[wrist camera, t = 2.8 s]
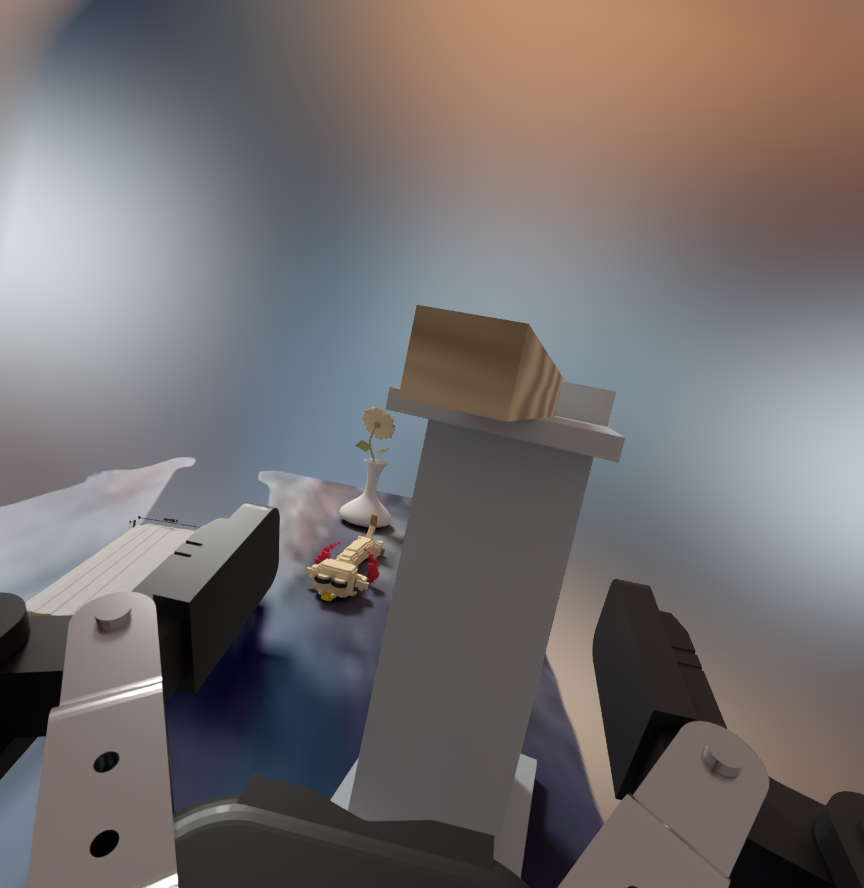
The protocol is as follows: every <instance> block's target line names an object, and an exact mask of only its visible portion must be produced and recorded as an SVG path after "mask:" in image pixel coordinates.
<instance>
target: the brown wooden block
mask: <svg viewBox="0 0 864 888" xmlns="http://www.w3.org/2000/svg"><path fill="white" fill-rule="evenodd" d="M562 383H563V377H562V375H561V374H560V372H559V371H558V369H557V368H556V366H555V364H554V363H553V361H552V360H551V358H550V356H549V355H548V353H547V352H546V350H545V349H544V347H543V346H542V344H541V342H540V341H539V339H538V338H537V336H536V335H535V333H534V332H533V330H532V328H531V327H530V325H529V324H526V323H520V322H514V321H509V320H503V319H497V318H491V317H485V316H479V315H473V314H468V313H461V312H455V311H449V310H444V309H438V308H432V307H426V306H420V305H417V306H416V311H415V316H414V322H413V327H412V332H411V337H410V342H409V347H408V352H407V357H406V362H405V367H404V372H403V377H402V382H401V387H400V392H399V397H398V398H402V399H406V400H411V401H415V402H420V403H424V404H429V405H433V406H438V407H442V408H447V409H451V410H456V411H460V412H465V413H469V414H474V415H478V416H483V417H487V418H492V419H496V420H501V421H505V422H509V421H518V420H527V419H536V418H545V417H554V416H555V413H556V409H557V405H558V400H559V396H560V392H561V388H562Z"/></svg>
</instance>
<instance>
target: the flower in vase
mask: <svg viewBox="0 0 864 888" xmlns="http://www.w3.org/2000/svg"><path fill="white" fill-rule="evenodd" d="M364 412H365V413H364V414H363V416H364V417H362V420H363V421H364V425H365V426H366V429H367V430H368V431H369V432H370V434H371V437H370V440H369V445H368V444H367V443H366V442H364V441H363V440H361V441H360V442H358V444H356V446H357V447H359V448H360V449H362V450H364V451H368V449H369V448H370V451H371V454H372V458H373V459H365V462H366V465H367V470H368V475H367V484H366V488H365V491H364V493H363V494H362V495H361V496H359V497H358V498H356V499H354V500H352V501H350V502H349V503H347V504H345V505H344V506H343V507H341V509H340V510H339V514H340V516H341V517H342V518H343V519H344V520H346V521H347V522H350V523H352V524H355V525H358V526H363V527H370V518H371V515H372V514H375V515H377V516H378V517H377V519H378V520H377V526H376V528H378V527H384V526H387V525H389V524H390V523H391V521H392V520H391V516H390V514H389V512H388V511H387V510H386V509H385V507H384V506H383V505H382V504H381V503H380V501H379V500H378V499H377V497H376V487H377V482H378V479H379V476H380V473H381V471H382V470H383V469H384V467H385V466H386V465H387V463H386V462H384V461H381V460H376V459H374V456H373V455H375V454H380V453H383V452H385V451H387V450H388V449H386V450H381V451H378V452H376V453H375V454H373V452H372V450H371V444H370V442H371V438H372V435H373V434H374V435H375V437H376V438H379V439H383V438H384V439H387V438H392V434H393V432H394V431H395V429H394V428H395V425H393V419H391V418H390V415H389V414H386V413H385V410H380V409H379V408H378V407H376V408H375V407H372V409H371V408H368V409H367V410H365V411H364Z"/></svg>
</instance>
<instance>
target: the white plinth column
mask: <svg viewBox="0 0 864 888" xmlns="http://www.w3.org/2000/svg"><path fill="white" fill-rule="evenodd" d="M399 392H400V388H395V387H390V389H389V394H388V399H387V404H386V409H387V410H392V411H396V412H400V413H405V414H409V415H414V416H418V417H423V418H427V419H429V420H428V426H427V430H426V435H425V440H424V445H423V450H422V454H421V459H420V464H419V469H418V474H417V478H416V483H415V488H414V493H413V498H412V503H411V507H410V512H409V517H408V522H407V527H406V532H405V536H404V541H403V546H402V551H401V556H400V561H399V565H398V570H397V575H396V580H395V585H394V590H393V594H392V599H391V604H390V609H389V614H388V619H387V623H386V628H385V633H384V638H383V643H382V648H381V652H380V657H379V662H378V667H377V672H376V677H375V681H374V686H373V691H372V696H371V701H370V706H369V710H368V715H367V720H366V725H365V730H364V735H363V739H362V744H361V749H360V754H359V758H358V759H357V761H356V762H355V764H354V765H353V767H352V768H351V770H350V771H349V773H348V774H347V776H346V777H345V779H344V780H343V782H342V784H341V785H340V787H339V788H338V790H337V791H336V793H335V794H334V796H333V797H332V799H331V800H330V801H332V802H334V803H335V804H337V805H339V806H340V807H342V808H344V809H346V810H347V811H349V812H351V813H352V814H354V815H356V816H357V817H359V818H361V819H363V820H366V821H405V820H436V821H439V822H443V823H447V824H451V825H455V826H459V827H463V828H467V829H471V830H475V831H478V832H482V833H486V834H490V835H494V857H493V859H494V860H496V861H498V862H499V863H501V864H503V865H504V866H505V867H507V868H508V869H509V870H511V871H512V872H513V873H515V874H516V875H517V876H518V877H519V878H521V872H522V864H523V857H524V850H525V843H526V836H527V829H528V821H529V814H530V807H531V800H532V793H533V786H534V779H535V771H536V764H537V760H535V759H533V758H530V757H527V756H525V755H522V754H520V753H521V749H522V745H523V741H524V737H525V733H526V729H527V725H528V721H529V717H530V713H531V709H532V705H533V701H534V697H535V693H536V689H537V684H538V680H539V676H540V672H541V668H542V664H543V660H544V656H545V652H546V648H547V644H548V640H549V636H550V632H551V628H552V624H553V619H554V616H555V611H556V607H557V603H558V599H559V595H560V591H561V587H562V583H563V579H564V575H565V571H566V567H567V563H568V559H569V555H570V551H571V547H572V543H573V539H574V534H575V530H576V526H577V522H578V518H579V514H580V510H581V506H582V502H583V498H584V494H585V490H586V486H587V481H588V478H589V474H590V470H591V466H592V461H593V457H597V458H601V459H605V460H610V461H614V462H619V460H620V456H621V452H622V448H623V444H624V440H625V438H624V437H623V436H621V435H620V434H618V433H617V432H615V431H613V430H612V429H610V428H609V427H607V426H608V422H609V418H610V414H611V410H612V406H613V402H614V398H615V394H616V392H614V391H608V390H603V389H599V388H593V387H588V386H583V385H578V384H573V383H568V382H563V383H562V388H561V392H560V396H559V400H558V405H557V409H556V413H555V416H554V417H545V418H536V419H527V420H518V421H509V422H505V421H501V420H496V419H492V418H487V417H483V416H478V415H474V414H469V413H465V412H460V411H456V410H451V409H447V408H442V407H438V406H433V405H429V404H424V403H420V402H415V401H411V400H406V399H402V398H398V397H399Z"/></svg>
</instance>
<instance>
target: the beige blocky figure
mask: <svg viewBox="0 0 864 888" xmlns="http://www.w3.org/2000/svg"><path fill="white" fill-rule="evenodd" d="M377 517H378V516H377V515H375V514H372V515H371V518H370V527H369V529H368V532H367V535H366V537H362V536H359V537H358V539H357V540H355V541H354V542H352V544H351V545H350V546H348V547H347V548H346V549H345V550H343V553H341V554H340V555H339V556H337V559H336V560H333V559H330V555H331V553H329V550H330V549H331V548H332V549H334V545H337V543H334V544H330V546H329V547H326V548H324V549H323V551H322V553H321V554H319V556H318V557H317V558H315V563H316V564H315V565H313V566H312V567H311V568H310V567H307V569H306V573H305V574H307V575H309V577H310V578H314V577H315V579H314V583H313V586H314V587H315V590H317V591H318V594H320V595H321V599H322V600H326V601H332V600H333V599H334V598H336V597H337V596H338V597H342V598H343V597H345V598H346V597H347V596H355V594H357V592H356V591H355V592H354V591H353V589H354V584H355V587H357V588H359V589H358V590H360V591H363V589H365V590H367V589H368V585H369V582H370V583H371V582H372V583H373V581H374V580H375V579H376V578H378V576H379V572H378V569H377V568H376V567H377V562H378V561H376V559H374V558H373V557H377V556H380V554H381V555H383V554H384V551H385V549H383V548H382V545H383V542H382V541H378V542H377V544H376V543H374V541H373V539H372V536H373V533H374V531H375V529H376V526H377V520H378V519H377ZM338 544H341V542H338ZM375 544H376V545H375ZM366 558H370V559H372V560H371V563H368V565H367V569H368V570H369V574H368V576H369V579H367V577H366V576H362V575H361V574H357V570H358V569H357V567H358V565H359V564H360V563H361V562H362V561H363V560H365V559H366ZM355 579H356V583H355Z"/></svg>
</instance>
